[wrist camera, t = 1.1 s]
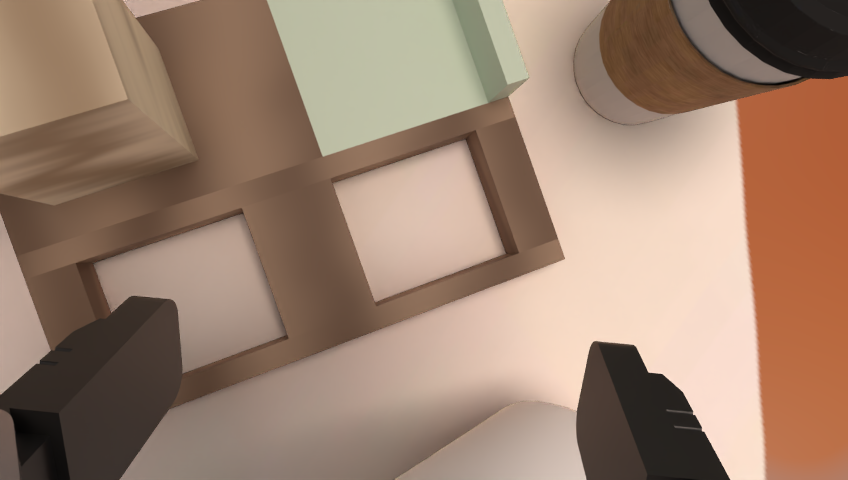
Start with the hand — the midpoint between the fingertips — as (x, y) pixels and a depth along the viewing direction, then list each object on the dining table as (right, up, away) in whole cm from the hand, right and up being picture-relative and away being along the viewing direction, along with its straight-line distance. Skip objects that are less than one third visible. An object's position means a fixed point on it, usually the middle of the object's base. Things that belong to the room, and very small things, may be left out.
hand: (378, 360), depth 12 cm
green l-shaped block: (-1, +11, +18) cm, 21 cm away
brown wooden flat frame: (-6, +5, +17) cm, 19 cm away
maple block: (-12, +7, +14) cm, 20 cm away
